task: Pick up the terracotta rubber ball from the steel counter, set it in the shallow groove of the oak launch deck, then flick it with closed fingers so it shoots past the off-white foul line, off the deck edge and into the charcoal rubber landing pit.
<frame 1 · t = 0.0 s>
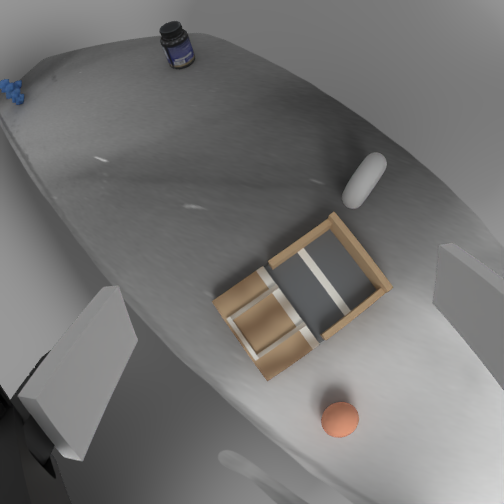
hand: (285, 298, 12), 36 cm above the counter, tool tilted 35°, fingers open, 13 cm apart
ball: (340, 419, 40), point 3 cm above the counter
pill bottle: (182, 62, 63), on the counter
donut: (357, 194, 51), on the counter
grapes: (24, 100, 68), on the counter
landing pit: (325, 281, 48), on the counter
launch deck: (265, 324, 47), on the counter
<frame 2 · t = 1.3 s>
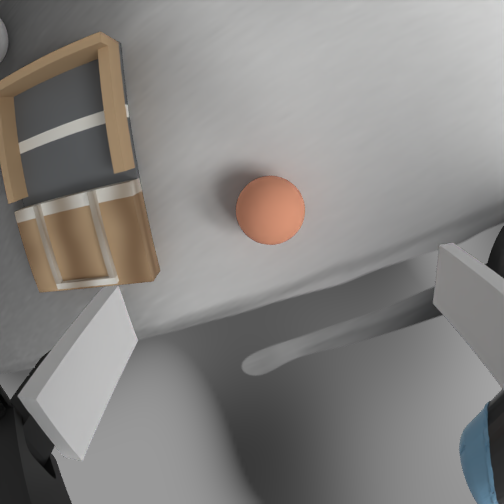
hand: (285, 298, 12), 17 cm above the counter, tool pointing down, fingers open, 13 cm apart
ball: (270, 210, 25), point 3 cm above the counter
donut: (5, 42, 21), on the counter
landing pit: (64, 128, 25), on the counter
launch deck: (87, 236, 29), on the counter
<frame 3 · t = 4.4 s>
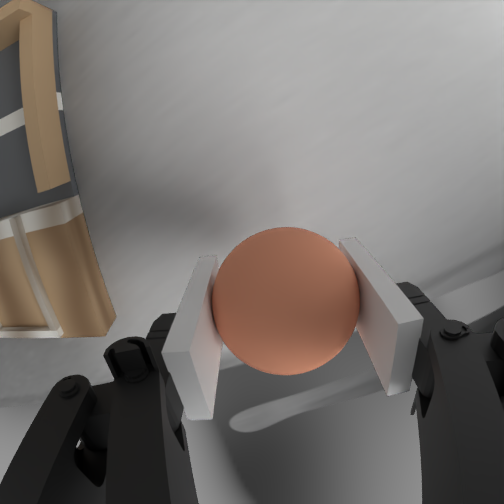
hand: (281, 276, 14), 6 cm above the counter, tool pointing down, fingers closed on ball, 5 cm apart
ball: (286, 301, 12), point 8 cm above the counter, touching gripper
launch deck: (24, 270, 20), on the counter
when the fingers open (5 cm above the counter, at t = 7.3 s): ball drops 2 cm, resting on launch deck.
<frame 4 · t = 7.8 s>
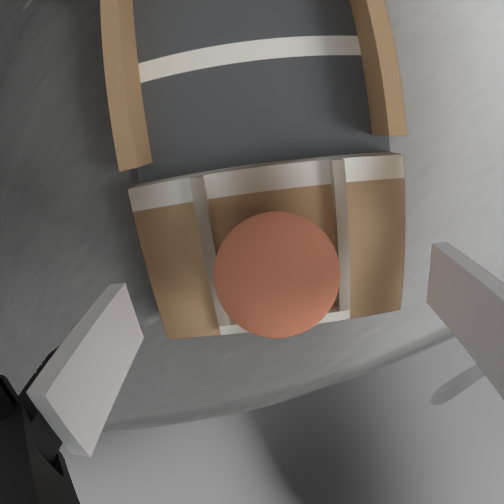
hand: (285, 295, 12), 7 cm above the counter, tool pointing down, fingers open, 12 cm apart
ball: (277, 274, 14), point 5 cm above the counter, touching launch deck
landing pit: (248, 48, 15), on the counter
launch deck: (274, 239, 19), on the counter
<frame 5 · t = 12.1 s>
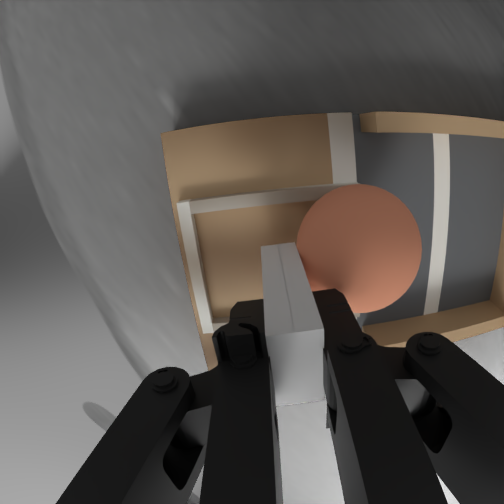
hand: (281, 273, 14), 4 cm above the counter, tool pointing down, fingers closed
ball: (359, 248, 13), point 5 cm above the counter, tilted 63°, touching launch deck
landing pit: (439, 227, 18), on the counter
launch deck: (269, 245, 18), on the counter
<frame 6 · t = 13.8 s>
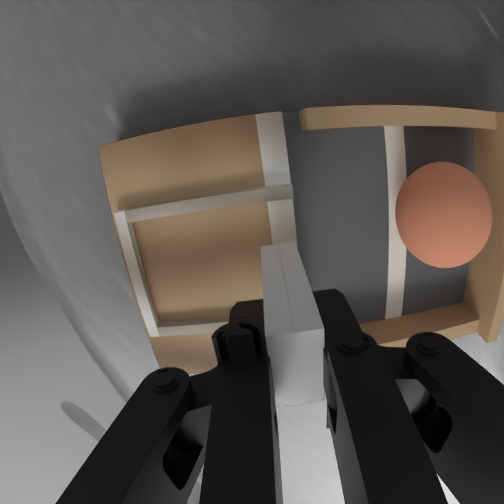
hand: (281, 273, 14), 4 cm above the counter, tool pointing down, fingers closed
ball: (444, 214, 14), point 3 cm above the counter, tilted 104°, touching landing pit
landing pit: (398, 226, 18), on the counter
launch deck: (214, 249, 18), on the counter
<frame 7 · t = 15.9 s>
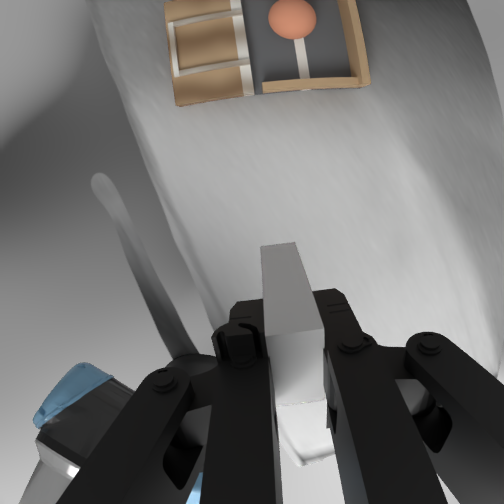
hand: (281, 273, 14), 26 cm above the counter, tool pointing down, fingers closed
ball: (292, 18, 28), point 3 cm above the counter, tilted 147°, touching landing pit
landing pit: (300, 37, 32), on the counter
launch deck: (209, 47, 33), on the counter
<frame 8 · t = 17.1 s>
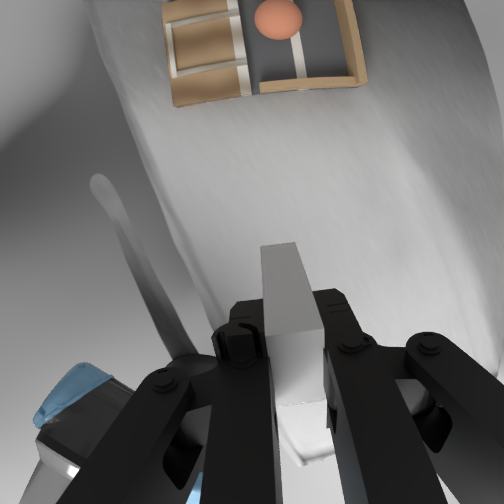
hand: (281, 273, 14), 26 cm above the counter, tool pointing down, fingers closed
ball: (278, 18, 29), point 3 cm above the counter, tilted 158°, touching landing pit
landing pit: (297, 37, 32), on the counter
launch deck: (207, 48, 33), on the counter
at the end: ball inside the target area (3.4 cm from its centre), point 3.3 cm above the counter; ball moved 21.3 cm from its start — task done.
